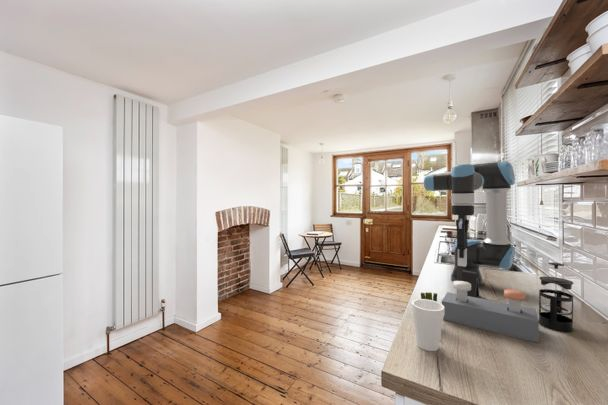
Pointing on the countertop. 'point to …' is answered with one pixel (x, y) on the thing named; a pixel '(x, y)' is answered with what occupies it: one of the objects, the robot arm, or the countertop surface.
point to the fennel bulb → (429, 296)
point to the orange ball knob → (514, 299)
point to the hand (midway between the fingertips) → (462, 265)
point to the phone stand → (471, 282)
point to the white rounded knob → (462, 290)
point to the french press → (556, 304)
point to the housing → (492, 316)
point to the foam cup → (427, 323)
